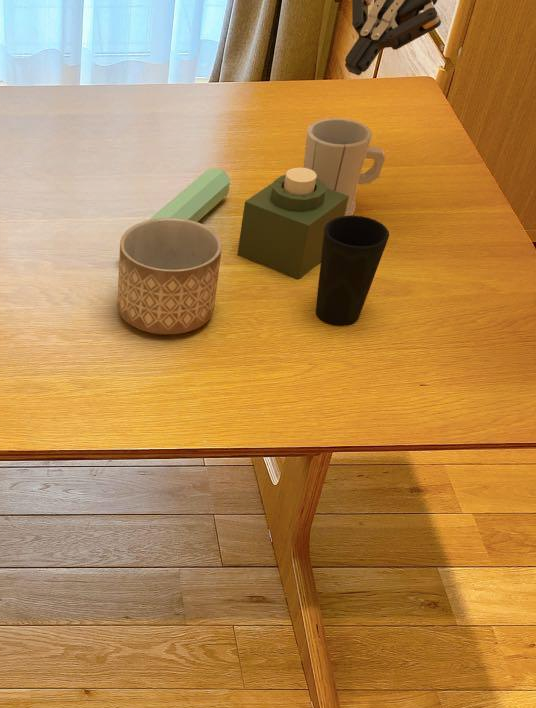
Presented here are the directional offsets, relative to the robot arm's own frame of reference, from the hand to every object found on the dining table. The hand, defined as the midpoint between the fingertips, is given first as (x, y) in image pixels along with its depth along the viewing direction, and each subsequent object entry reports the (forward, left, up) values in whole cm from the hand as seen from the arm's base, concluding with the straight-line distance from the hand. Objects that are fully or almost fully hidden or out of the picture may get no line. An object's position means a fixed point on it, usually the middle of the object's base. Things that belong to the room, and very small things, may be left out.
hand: (351, 70), depth 128 cm
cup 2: (-12, +14, -24) cm, 30 cm away
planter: (+6, +28, -24) cm, 37 cm away
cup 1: (+4, -9, -24) cm, 26 cm away
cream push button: (+2, +5, -14) cm, 15 cm away
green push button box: (+2, +5, -24) cm, 25 cm away
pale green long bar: (+17, +10, -24) cm, 31 cm away
